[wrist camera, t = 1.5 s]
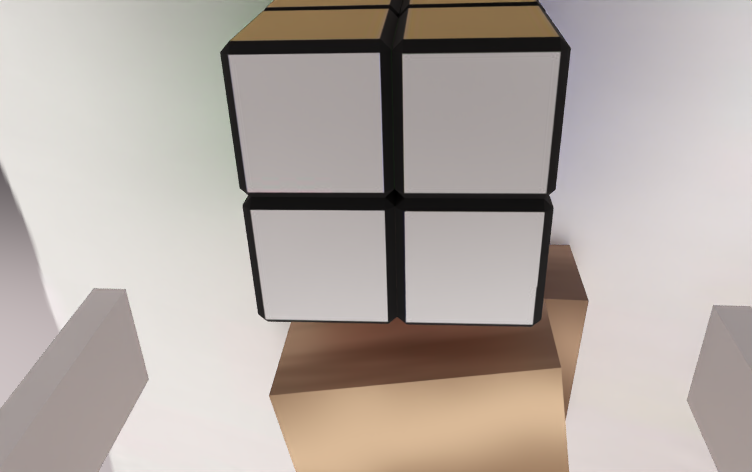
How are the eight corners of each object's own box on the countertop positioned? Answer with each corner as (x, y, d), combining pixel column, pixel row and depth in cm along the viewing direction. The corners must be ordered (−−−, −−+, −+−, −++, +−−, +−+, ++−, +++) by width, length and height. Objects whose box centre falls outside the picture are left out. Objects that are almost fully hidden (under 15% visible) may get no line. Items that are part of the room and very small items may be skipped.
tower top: (292, 317, 30) (268, 395, 26) (541, 289, 29) (561, 367, 24) (343, 485, 35) (331, 573, 31) (557, 469, 34) (575, 560, 29)
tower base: (325, 232, 34) (309, 288, 29) (568, 241, 33) (588, 300, 29) (332, 409, 40) (320, 477, 35) (538, 420, 39) (551, 492, 35)
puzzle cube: (513, 202, 32) (542, 332, 23) (304, 202, 33) (257, 327, 24) (529, -22, 27) (574, 38, 18) (282, -16, 28) (213, 44, 19)
